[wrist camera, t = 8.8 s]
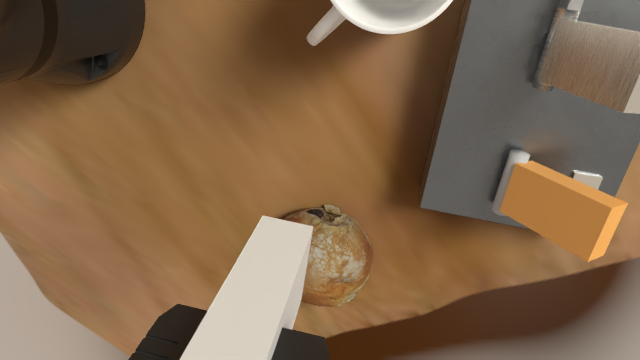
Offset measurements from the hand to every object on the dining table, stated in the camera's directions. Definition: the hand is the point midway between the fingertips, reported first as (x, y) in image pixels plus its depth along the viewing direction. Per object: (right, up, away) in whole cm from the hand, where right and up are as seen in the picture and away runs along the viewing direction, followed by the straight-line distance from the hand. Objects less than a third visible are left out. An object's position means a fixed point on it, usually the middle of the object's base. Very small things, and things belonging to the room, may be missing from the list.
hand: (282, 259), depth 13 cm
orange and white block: (+16, +2, +21) cm, 26 cm away
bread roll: (+2, -5, +33) cm, 33 cm away
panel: (+18, +8, +23) cm, 31 cm away
